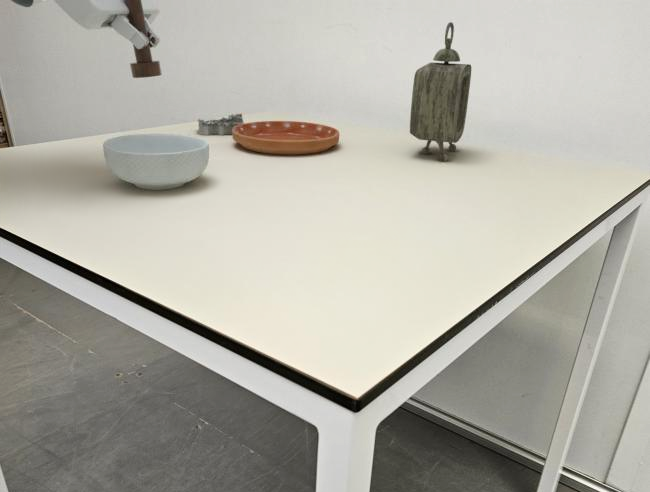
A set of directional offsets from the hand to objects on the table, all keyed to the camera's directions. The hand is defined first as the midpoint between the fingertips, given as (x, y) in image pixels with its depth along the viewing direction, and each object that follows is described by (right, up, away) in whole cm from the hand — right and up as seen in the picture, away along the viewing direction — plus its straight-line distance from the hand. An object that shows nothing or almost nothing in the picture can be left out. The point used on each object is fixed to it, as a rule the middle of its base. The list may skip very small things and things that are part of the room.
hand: (150, 45), depth 91 cm
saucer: (+18, -4, +40) cm, 44 cm away
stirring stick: (-1, -4, +2) cm, 5 cm away
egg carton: (+2, +3, +51) cm, 51 cm away
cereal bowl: (-1, -19, +10) cm, 22 cm away
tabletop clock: (+49, -7, +35) cm, 61 cm away
